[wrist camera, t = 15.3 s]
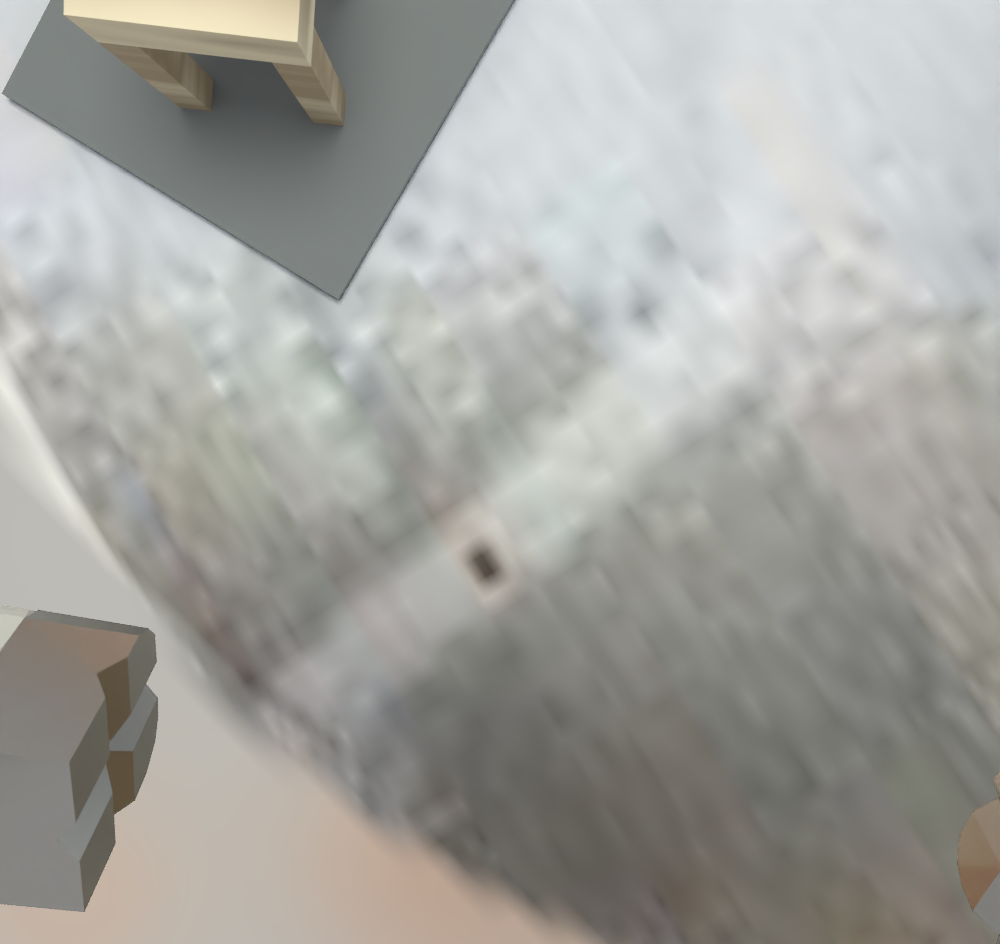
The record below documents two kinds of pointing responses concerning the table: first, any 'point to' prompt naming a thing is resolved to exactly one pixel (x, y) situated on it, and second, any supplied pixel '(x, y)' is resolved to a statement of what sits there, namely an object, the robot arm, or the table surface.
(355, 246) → the mat
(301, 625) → the table surface
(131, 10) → the stool
